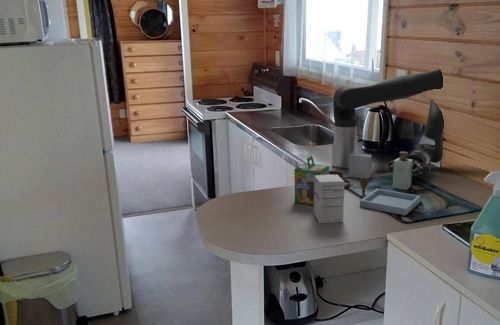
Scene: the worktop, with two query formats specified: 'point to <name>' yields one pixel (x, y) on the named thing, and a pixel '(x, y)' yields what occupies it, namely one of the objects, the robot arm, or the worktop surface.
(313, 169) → the chalk box
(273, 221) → the worktop surface
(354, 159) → the medicine box
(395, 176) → the green square vase
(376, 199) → the tray
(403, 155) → the post
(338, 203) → the supplement box
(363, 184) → the place setting
